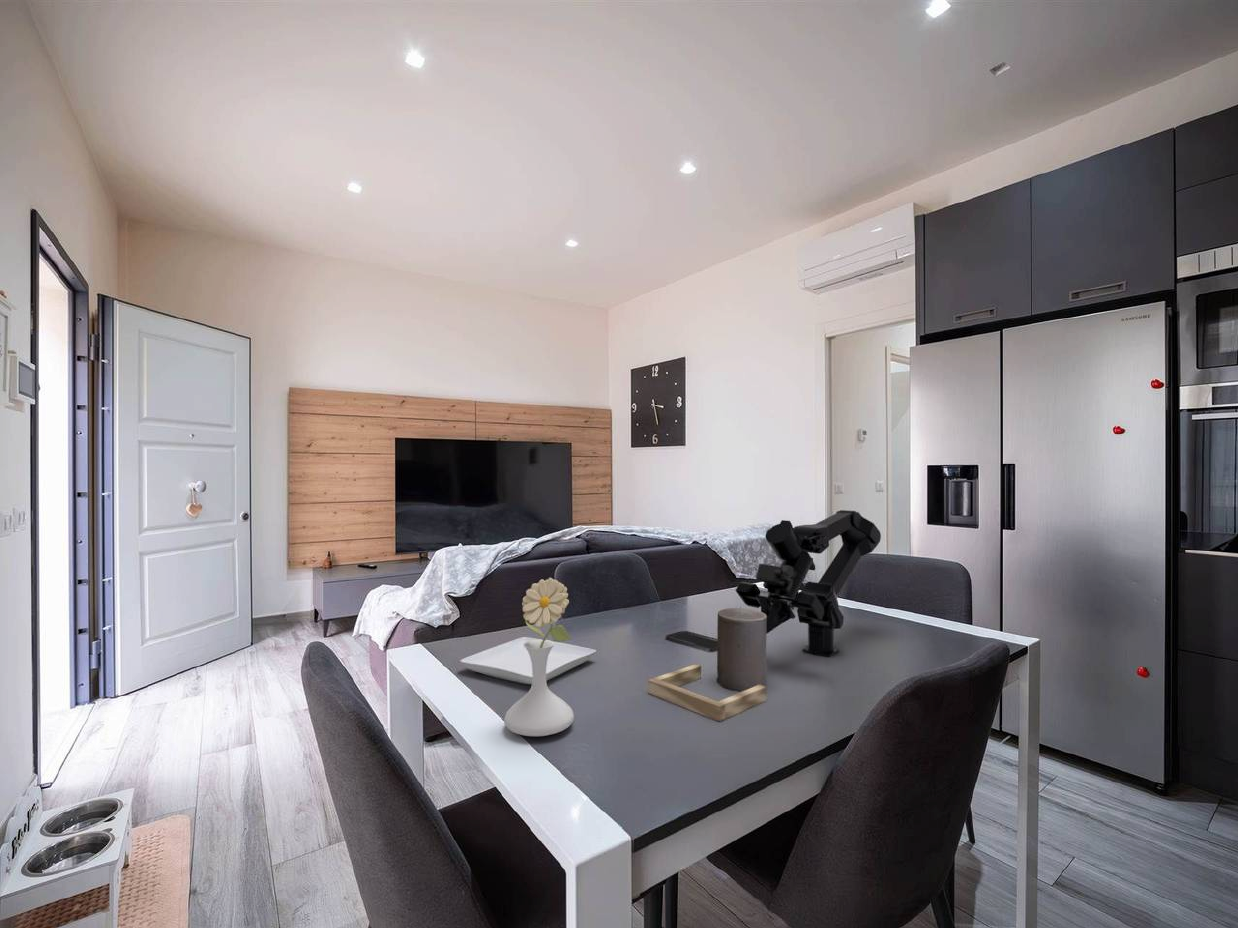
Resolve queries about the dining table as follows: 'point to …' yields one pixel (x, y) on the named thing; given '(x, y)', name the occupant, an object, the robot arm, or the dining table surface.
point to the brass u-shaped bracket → (718, 711)
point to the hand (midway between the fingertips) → (762, 633)
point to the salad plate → (525, 660)
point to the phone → (694, 640)
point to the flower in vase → (541, 665)
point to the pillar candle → (741, 648)
